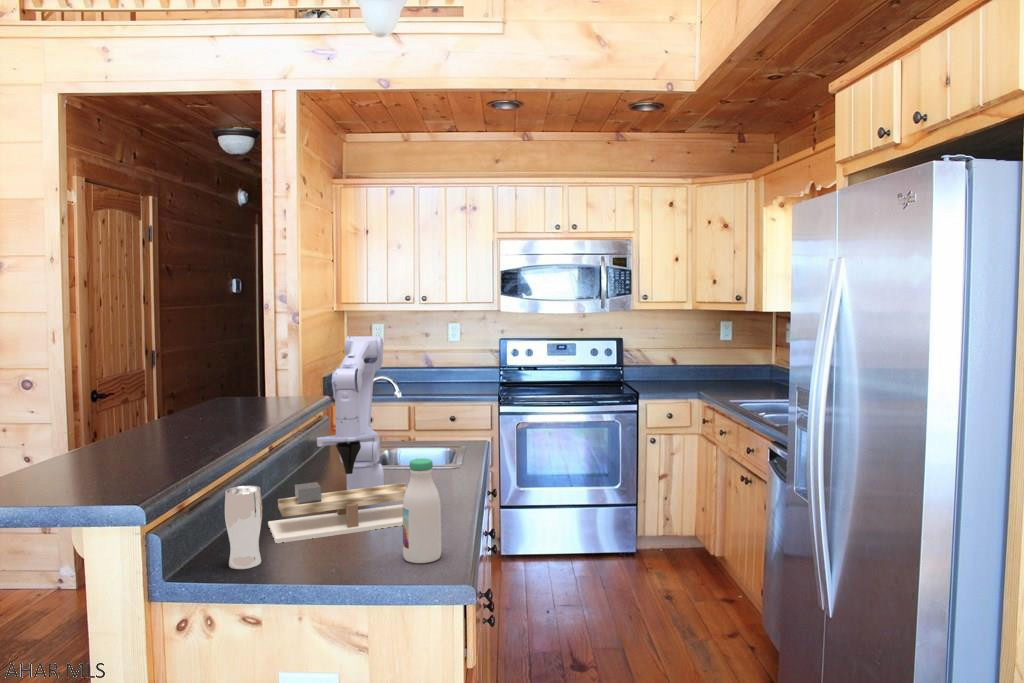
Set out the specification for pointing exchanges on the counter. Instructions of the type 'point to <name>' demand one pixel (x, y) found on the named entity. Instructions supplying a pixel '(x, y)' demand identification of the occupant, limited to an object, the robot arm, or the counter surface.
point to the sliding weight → (307, 493)
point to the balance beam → (344, 499)
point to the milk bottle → (421, 515)
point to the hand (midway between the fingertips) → (348, 473)
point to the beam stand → (336, 523)
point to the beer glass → (243, 525)
